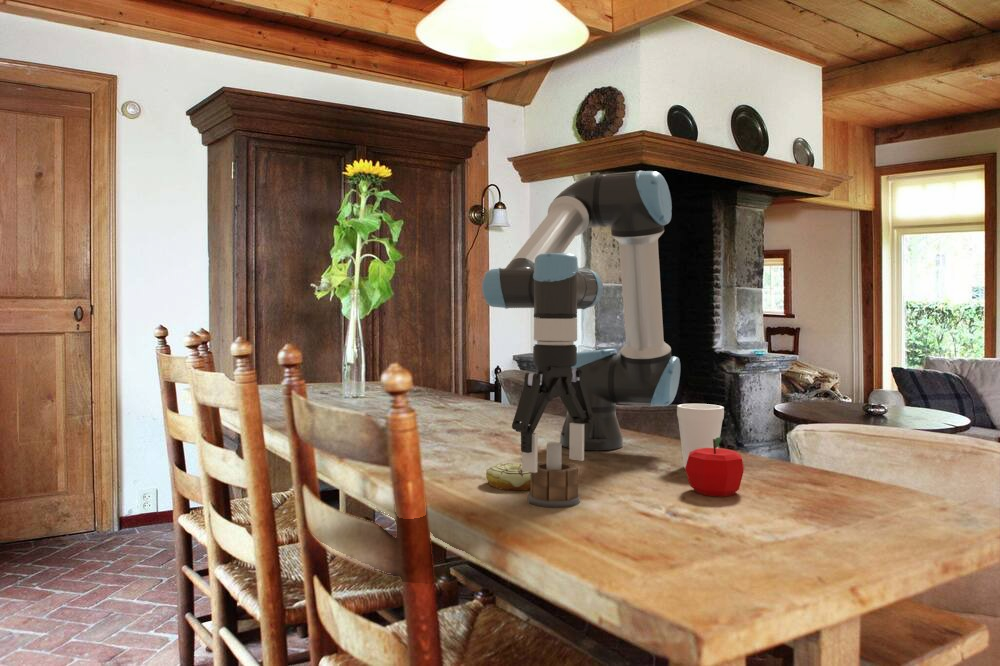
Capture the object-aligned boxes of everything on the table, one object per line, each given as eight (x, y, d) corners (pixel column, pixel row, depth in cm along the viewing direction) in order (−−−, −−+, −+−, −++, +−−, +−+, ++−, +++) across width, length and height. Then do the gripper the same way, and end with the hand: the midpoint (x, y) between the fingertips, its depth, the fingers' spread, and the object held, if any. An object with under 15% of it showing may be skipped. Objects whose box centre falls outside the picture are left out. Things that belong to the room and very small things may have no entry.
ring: (586, 494, 139) (586, 466, 139) (558, 503, 133) (558, 473, 133) (549, 487, 145) (549, 460, 144) (521, 495, 139) (521, 467, 138)
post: (548, 492, 145) (549, 437, 145) (589, 500, 140) (590, 443, 139) (517, 501, 139) (517, 444, 138) (559, 510, 133) (559, 450, 132)
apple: (731, 502, 139) (732, 445, 139) (675, 493, 145) (675, 438, 145) (753, 491, 147) (754, 437, 147) (698, 483, 154) (699, 431, 153)
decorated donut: (522, 495, 144) (522, 474, 144) (475, 487, 150) (475, 467, 150) (552, 484, 152) (552, 465, 152) (506, 477, 159) (506, 458, 158)
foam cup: (702, 474, 161) (703, 410, 161) (667, 467, 169) (668, 405, 168) (731, 469, 167) (733, 407, 166) (697, 461, 174) (697, 402, 174)
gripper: (578, 340, 150) (577, 452, 151) (491, 344, 131) (490, 473, 132) (612, 341, 145) (611, 457, 146) (526, 346, 126) (525, 480, 127)
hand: (554, 465), depth 139 cm, fingers open, 13 cm apart
